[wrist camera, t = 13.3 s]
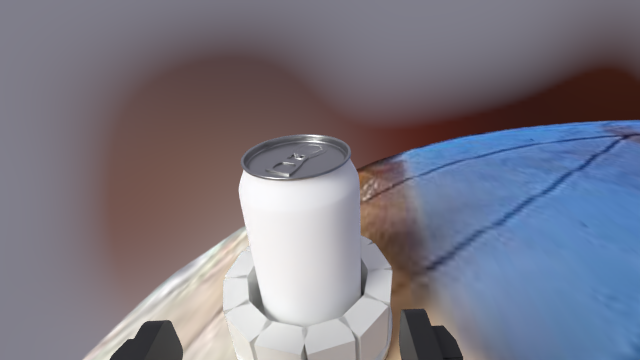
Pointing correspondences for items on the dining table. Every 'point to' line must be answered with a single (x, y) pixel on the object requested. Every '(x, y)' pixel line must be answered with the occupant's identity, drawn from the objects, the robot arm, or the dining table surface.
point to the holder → (317, 340)
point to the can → (303, 227)
